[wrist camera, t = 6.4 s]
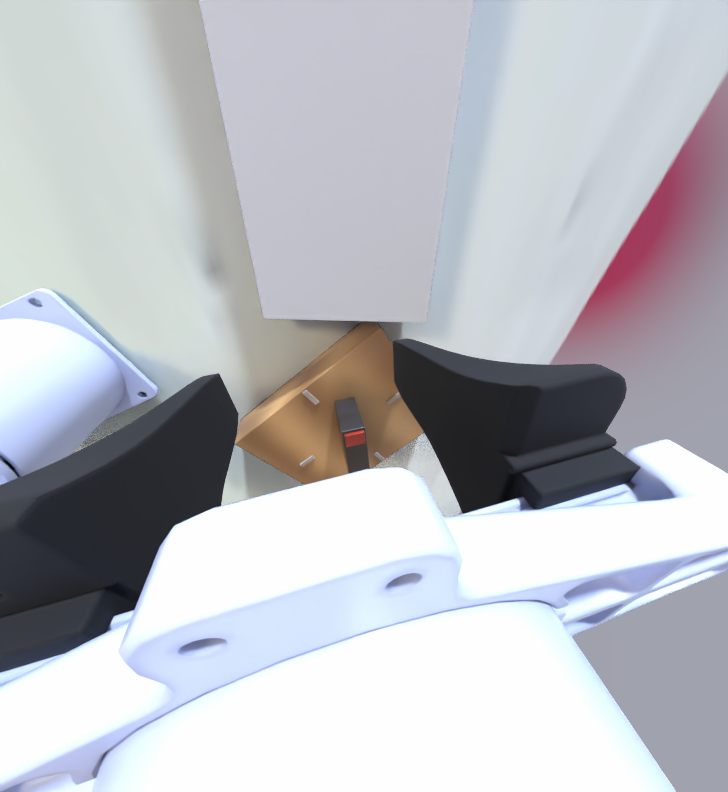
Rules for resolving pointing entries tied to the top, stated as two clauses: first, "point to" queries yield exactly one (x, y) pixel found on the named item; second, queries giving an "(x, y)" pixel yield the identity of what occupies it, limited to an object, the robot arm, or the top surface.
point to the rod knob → (352, 435)
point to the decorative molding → (340, 146)
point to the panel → (332, 410)
